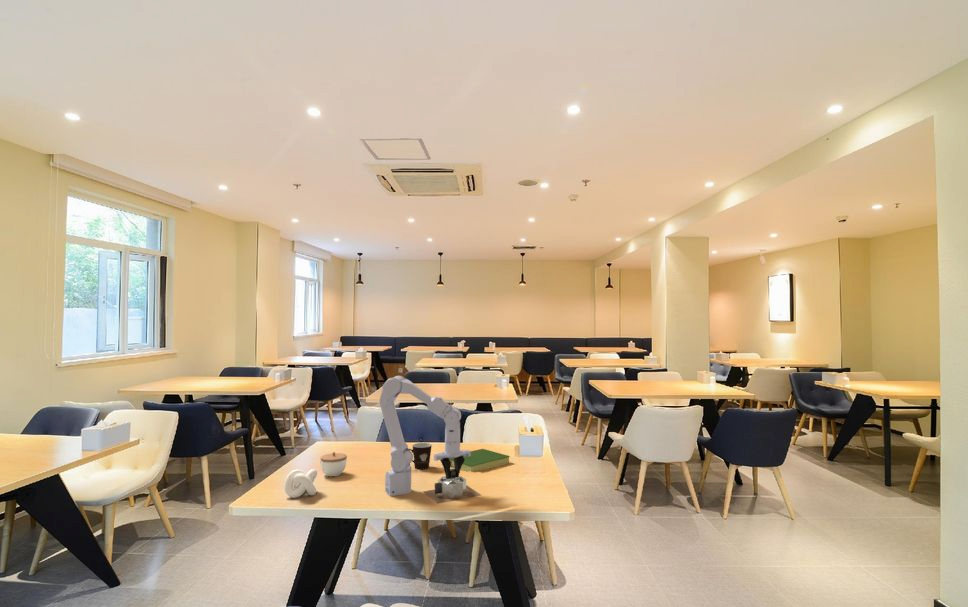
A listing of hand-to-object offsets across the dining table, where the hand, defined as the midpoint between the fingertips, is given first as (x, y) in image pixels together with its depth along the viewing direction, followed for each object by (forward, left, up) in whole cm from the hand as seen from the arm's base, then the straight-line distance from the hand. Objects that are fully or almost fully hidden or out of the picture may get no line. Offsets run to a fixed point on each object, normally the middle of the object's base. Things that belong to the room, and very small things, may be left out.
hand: (452, 477), depth 178 cm
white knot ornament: (-50, +27, -7) cm, 57 cm away
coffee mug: (+2, +40, -7) cm, 41 cm away
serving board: (0, 0, -7) cm, 7 cm away
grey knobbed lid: (0, 0, -2) cm, 2 cm away
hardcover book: (+28, +33, -7) cm, 44 cm away
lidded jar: (-34, +47, -7) cm, 58 cm away
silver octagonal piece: (-1, 0, -6) cm, 6 cm away
